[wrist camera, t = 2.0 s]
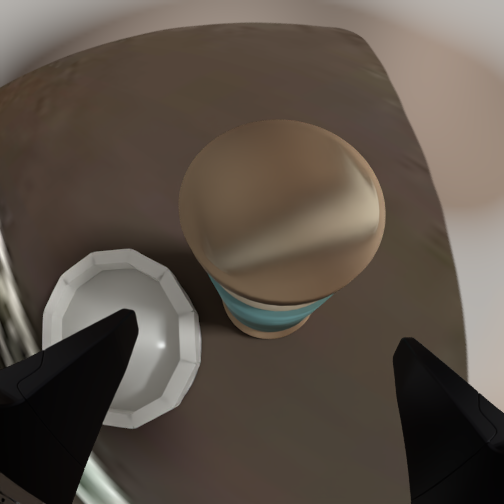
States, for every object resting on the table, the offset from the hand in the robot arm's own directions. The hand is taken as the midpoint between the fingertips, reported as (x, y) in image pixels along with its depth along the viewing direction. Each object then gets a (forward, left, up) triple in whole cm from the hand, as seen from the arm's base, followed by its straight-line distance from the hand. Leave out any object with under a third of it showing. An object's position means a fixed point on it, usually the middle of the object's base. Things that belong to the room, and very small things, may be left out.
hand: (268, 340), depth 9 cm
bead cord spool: (+2, +3, -11) cm, 11 cm away
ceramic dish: (-9, +6, -11) cm, 15 cm away
